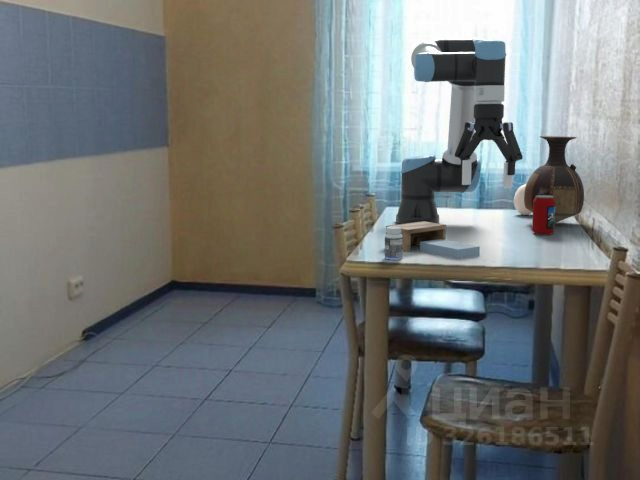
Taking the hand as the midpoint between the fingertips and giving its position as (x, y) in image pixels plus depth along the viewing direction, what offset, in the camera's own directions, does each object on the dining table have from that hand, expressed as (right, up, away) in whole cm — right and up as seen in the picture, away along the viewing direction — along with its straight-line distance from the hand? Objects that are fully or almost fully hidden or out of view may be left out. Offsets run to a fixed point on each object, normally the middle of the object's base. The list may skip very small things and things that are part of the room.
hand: (486, 186), depth 196 cm
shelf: (-16, -16, +22) cm, 32 cm away
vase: (+36, -9, +63) cm, 73 cm away
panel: (-8, -18, +12) cm, 23 cm away
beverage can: (+27, -12, +43) cm, 53 cm away
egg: (+33, -5, +86) cm, 93 cm away
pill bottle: (-24, -19, +5) cm, 31 cm away
